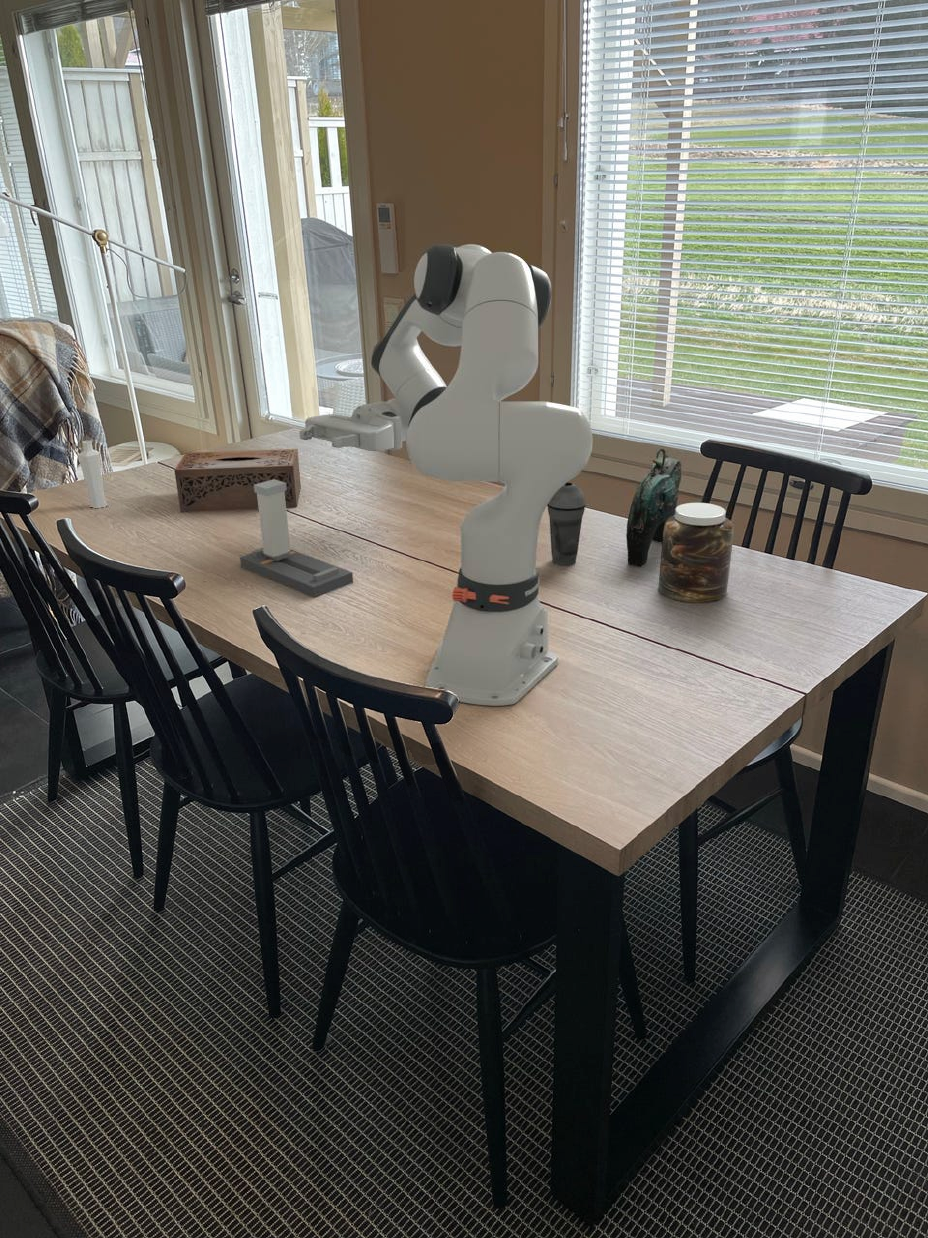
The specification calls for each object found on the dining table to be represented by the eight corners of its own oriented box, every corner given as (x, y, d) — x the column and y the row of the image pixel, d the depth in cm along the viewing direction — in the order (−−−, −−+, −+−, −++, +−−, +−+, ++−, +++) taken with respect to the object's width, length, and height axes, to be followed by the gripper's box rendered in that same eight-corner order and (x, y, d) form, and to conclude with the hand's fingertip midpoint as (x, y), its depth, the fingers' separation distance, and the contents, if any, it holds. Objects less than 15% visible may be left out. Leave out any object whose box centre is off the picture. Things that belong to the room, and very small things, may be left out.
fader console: (353, 582, 170) (351, 567, 169) (314, 597, 164) (313, 581, 163) (278, 553, 184) (277, 539, 182) (241, 566, 178) (239, 552, 176)
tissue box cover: (180, 513, 208) (174, 469, 203) (191, 493, 221) (185, 452, 216) (297, 508, 210) (293, 465, 206) (301, 489, 223) (297, 448, 219)
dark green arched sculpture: (653, 533, 192) (661, 437, 184) (683, 538, 189) (693, 441, 181) (617, 564, 177) (624, 462, 168) (650, 570, 174) (658, 466, 165)
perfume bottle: (114, 504, 213) (102, 440, 206) (98, 510, 210) (86, 444, 203) (101, 501, 215) (89, 437, 209) (85, 506, 212) (72, 442, 205)
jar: (675, 572, 173) (682, 495, 166) (736, 586, 167) (746, 506, 160) (647, 593, 164) (654, 513, 158) (710, 609, 158) (720, 526, 152)
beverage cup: (581, 570, 174) (586, 466, 166) (542, 567, 176) (545, 464, 167) (584, 555, 181) (589, 455, 172) (547, 553, 182) (550, 453, 174)
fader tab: (293, 555, 176) (286, 483, 170) (274, 562, 173) (266, 488, 167) (280, 550, 179) (273, 478, 173) (261, 557, 176) (252, 484, 170)
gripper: (336, 403, 190) (281, 415, 180) (406, 417, 177) (352, 430, 168) (338, 434, 192) (284, 447, 183) (407, 449, 180) (354, 464, 171)
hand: (317, 439), depth 175 cm, fingers open, 8 cm apart
